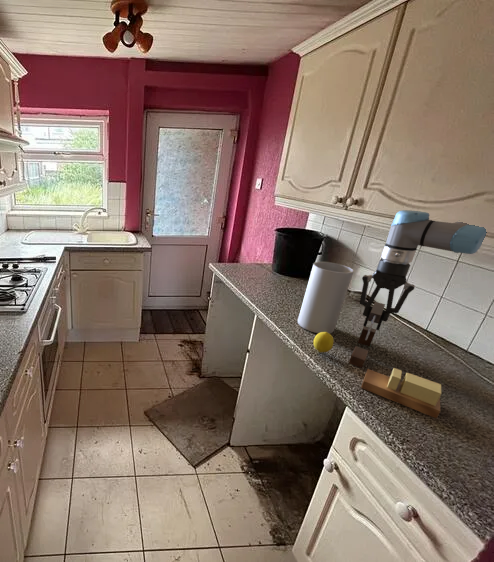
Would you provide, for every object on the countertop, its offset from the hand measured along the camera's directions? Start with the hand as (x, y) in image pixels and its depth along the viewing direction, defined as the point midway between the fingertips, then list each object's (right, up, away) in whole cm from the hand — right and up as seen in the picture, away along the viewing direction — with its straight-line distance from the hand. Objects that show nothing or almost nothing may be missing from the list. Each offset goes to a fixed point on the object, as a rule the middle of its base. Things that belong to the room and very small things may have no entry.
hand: (371, 326), depth 106 cm
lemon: (-17, -9, 0) cm, 20 cm away
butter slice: (-9, -14, -18) cm, 24 cm away
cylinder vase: (-9, -3, +17) cm, 19 cm away
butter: (-5, -15, -22) cm, 27 cm away
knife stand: (-3, -9, +1) cm, 10 cm away
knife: (-3, 0, -3) cm, 4 cm away
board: (-8, -17, -18) cm, 26 cm away
